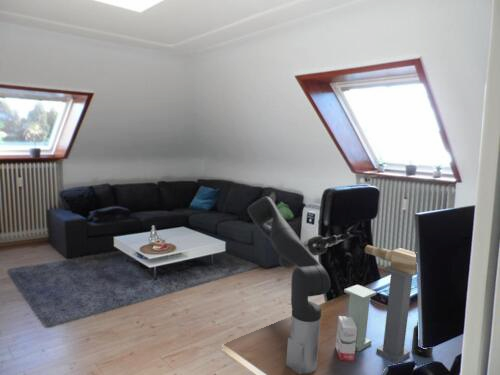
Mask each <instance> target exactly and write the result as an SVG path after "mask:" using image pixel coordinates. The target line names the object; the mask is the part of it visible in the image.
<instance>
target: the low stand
mask: <svg viewBox="0 0 500 375" xmlns="http://www.w3.org/2000/svg"><path fill="white" fill-rule="evenodd" d="M343 290H344V291H343V292H344V293H346V294H348V295H349V301H348V311H347V317H352V319H353V321H354V323H355V325H356V327H357V334H356V344H355V352H356V351H357V352H360V351H362V350H364V349H365V348H367V347H369V346H371V345H372V339H369V338H367V328H368V320H369V319H368V318H369V311H370V300H371V298H372V297H374V296H376V295H377V291H375V290H373V289H369V288H367V287H365V286H363V285H360V284H355V285H352V286H349V287H347V288H344V289H343Z"/></svg>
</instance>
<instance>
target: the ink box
mask: <svg viewBox="0 0 500 375" xmlns="http://www.w3.org/2000/svg"><path fill="white" fill-rule="evenodd" d="M336 330H337V331H336V341H335V348H336V352H337V355H338V357H339V358H338V359H339V360H340V361H350V362H353V361H355V355H356V350H355V344H356V334H357V327H356V325H355V323H354V321H353V319H352V317H348V316H344V315H343V316H342V315H339V316H338V319H337V329H336Z"/></svg>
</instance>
